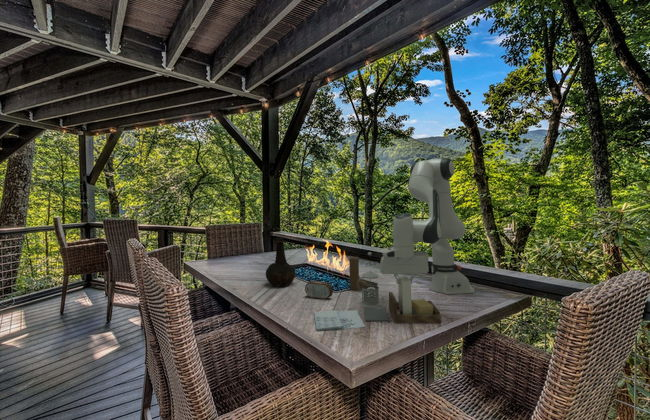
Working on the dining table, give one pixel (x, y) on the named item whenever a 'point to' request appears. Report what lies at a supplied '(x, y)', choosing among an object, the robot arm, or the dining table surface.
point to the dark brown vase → (280, 267)
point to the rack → (412, 317)
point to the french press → (370, 290)
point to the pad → (376, 315)
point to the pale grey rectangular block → (404, 295)
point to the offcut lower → (418, 313)
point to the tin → (318, 289)
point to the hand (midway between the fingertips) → (404, 283)
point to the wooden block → (355, 274)
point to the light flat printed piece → (338, 320)
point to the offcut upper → (422, 306)
